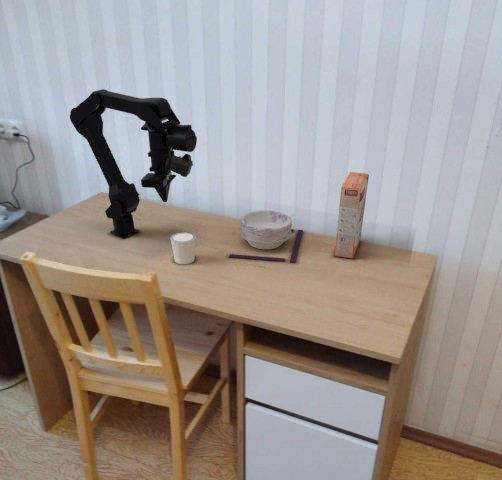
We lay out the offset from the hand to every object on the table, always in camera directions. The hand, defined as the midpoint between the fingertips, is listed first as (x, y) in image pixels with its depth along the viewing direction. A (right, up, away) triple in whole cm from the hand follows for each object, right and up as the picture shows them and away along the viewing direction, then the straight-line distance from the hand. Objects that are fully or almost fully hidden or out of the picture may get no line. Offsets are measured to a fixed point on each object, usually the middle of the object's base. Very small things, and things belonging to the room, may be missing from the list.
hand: (165, 201), depth 155 cm
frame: (+30, -12, +6) cm, 33 cm away
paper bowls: (+29, -11, +6) cm, 32 cm away
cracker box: (+54, -13, +3) cm, 55 cm away
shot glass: (+6, -17, -3) cm, 19 cm away
